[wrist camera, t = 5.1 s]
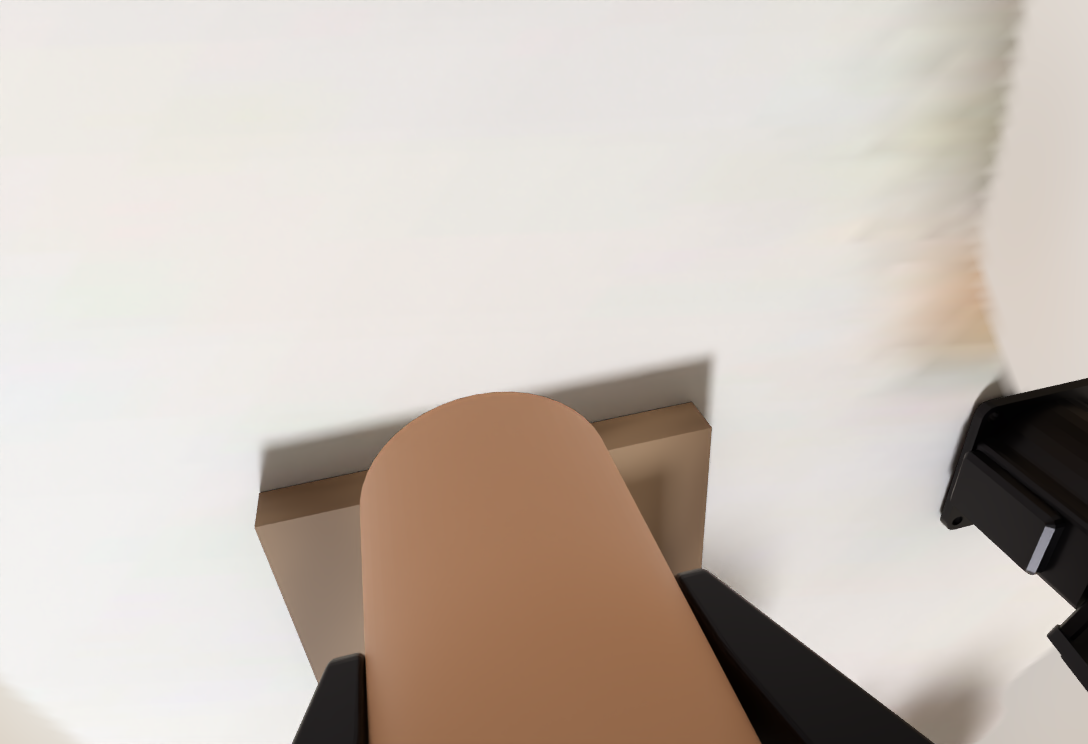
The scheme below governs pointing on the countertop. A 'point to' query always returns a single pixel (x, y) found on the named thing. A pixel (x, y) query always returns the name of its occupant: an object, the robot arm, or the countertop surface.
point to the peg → (525, 591)
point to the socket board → (335, 535)
